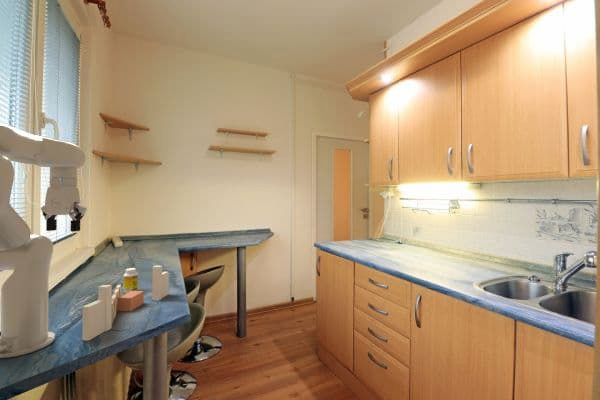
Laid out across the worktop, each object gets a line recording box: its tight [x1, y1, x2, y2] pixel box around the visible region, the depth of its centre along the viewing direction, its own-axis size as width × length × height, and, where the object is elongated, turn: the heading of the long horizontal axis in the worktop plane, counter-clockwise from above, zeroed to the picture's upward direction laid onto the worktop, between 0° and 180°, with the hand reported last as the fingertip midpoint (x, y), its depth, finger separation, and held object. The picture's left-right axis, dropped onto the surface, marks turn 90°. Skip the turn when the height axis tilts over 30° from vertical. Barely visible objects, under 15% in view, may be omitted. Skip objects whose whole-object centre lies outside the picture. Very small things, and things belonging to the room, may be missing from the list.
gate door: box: [112, 284, 122, 325], centre depth 100 cm, size 24×1×7 cm, turn 27°
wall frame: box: [81, 265, 170, 342], centre depth 101 cm, size 40×3×14 cm, turn 173°
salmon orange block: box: [117, 290, 145, 312], centre depth 107 cm, size 8×5×5 cm, turn 178°
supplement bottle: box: [122, 267, 139, 294], centre depth 124 cm, size 6×6×10 cm
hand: (63, 230), depth 99 cm, fingers open, 9 cm apart
